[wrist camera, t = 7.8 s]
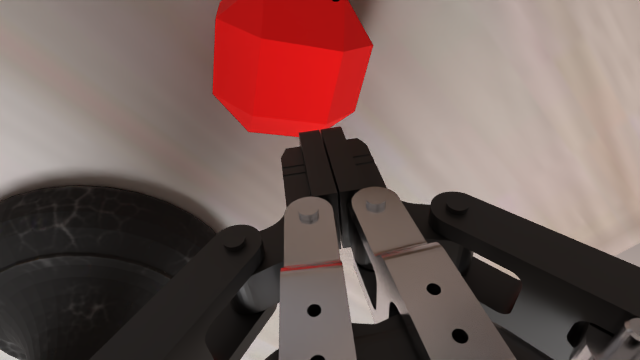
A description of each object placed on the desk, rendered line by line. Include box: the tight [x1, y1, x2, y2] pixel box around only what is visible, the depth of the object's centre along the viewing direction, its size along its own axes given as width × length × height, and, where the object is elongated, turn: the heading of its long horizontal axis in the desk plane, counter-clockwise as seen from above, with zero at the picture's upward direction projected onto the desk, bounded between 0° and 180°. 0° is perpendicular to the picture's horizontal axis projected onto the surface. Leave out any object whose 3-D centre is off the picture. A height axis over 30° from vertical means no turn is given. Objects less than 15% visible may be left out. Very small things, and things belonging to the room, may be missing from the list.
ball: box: [213, 0, 373, 137], centre depth 21 cm, size 8×8×8 cm
